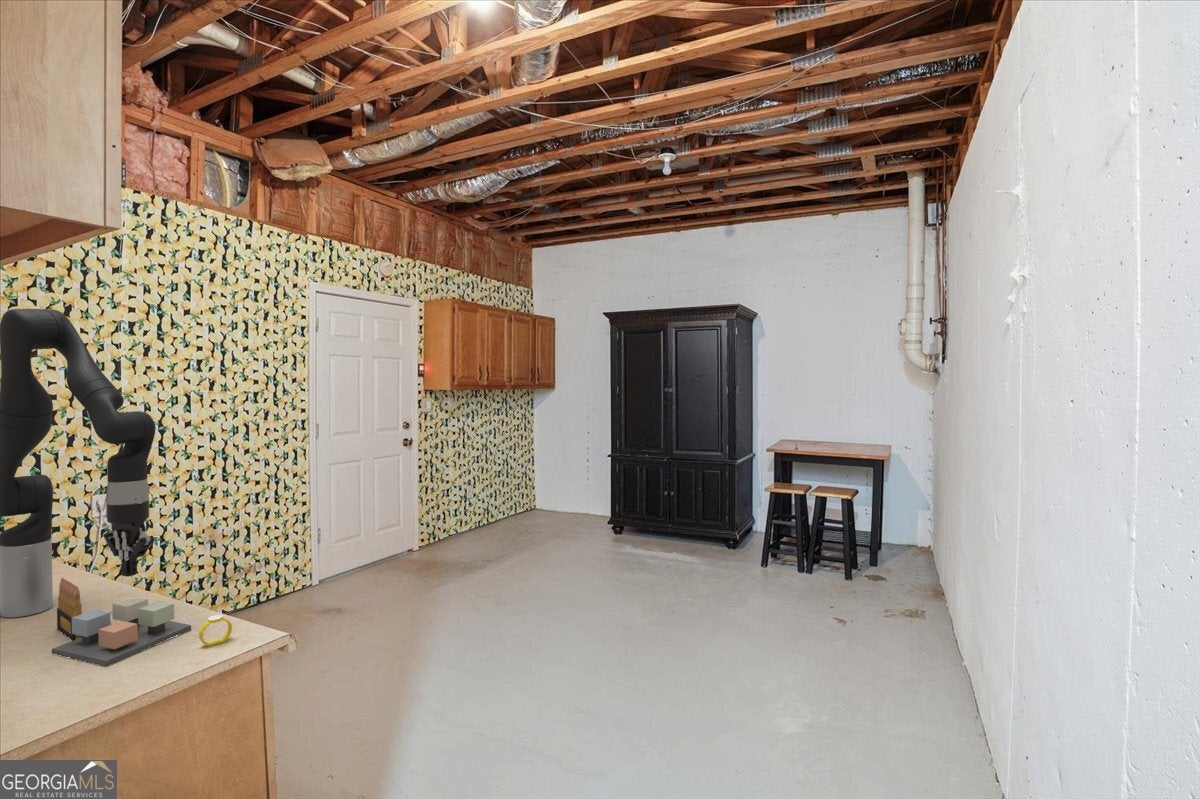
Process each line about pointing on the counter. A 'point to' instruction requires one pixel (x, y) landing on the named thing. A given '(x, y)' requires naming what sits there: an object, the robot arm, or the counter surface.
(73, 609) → the ammunition clip
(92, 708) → the counter surface
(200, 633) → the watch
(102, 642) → the terracotta key
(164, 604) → the sage key
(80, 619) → the slate key
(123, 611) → the cream key
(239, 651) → the counter surface
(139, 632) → the keypad board
